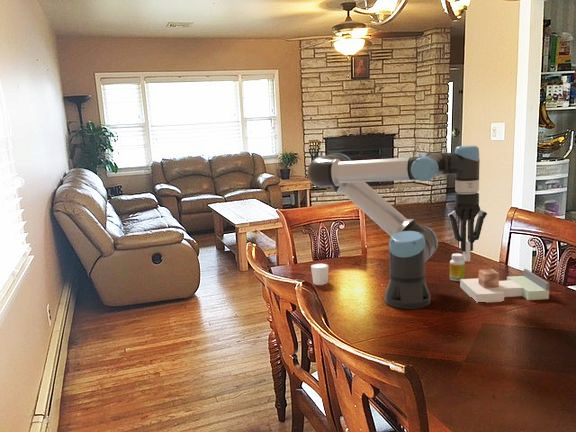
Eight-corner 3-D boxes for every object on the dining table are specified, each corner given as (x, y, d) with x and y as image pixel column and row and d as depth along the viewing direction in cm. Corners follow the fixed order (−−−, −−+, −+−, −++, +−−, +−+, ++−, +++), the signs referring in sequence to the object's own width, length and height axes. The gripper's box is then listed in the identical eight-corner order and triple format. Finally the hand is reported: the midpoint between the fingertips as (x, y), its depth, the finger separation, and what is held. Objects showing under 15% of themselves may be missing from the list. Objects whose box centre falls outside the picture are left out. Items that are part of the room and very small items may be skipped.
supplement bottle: (461, 282, 187) (462, 257, 185) (447, 280, 190) (447, 255, 189) (466, 278, 191) (466, 253, 190) (452, 276, 195) (452, 252, 193)
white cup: (329, 279, 199) (328, 262, 197) (329, 285, 192) (328, 267, 191) (312, 280, 199) (311, 263, 198) (311, 285, 193) (310, 268, 191)
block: (484, 288, 171) (484, 274, 170) (478, 283, 176) (478, 269, 175) (498, 287, 171) (499, 273, 170) (492, 282, 176) (492, 269, 175)
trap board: (477, 303, 166) (477, 287, 165) (460, 287, 182) (460, 272, 181) (548, 298, 166) (549, 283, 165) (525, 283, 182) (526, 268, 181)
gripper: (451, 195, 164) (451, 264, 168) (491, 192, 164) (490, 262, 168) (444, 192, 171) (444, 258, 175) (482, 189, 171) (481, 256, 175)
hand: (466, 260), depth 172 cm, fingers closed
